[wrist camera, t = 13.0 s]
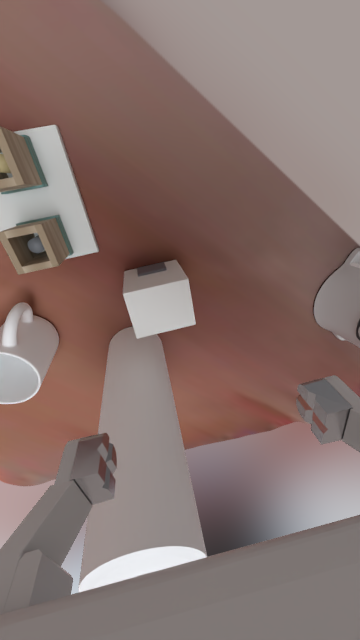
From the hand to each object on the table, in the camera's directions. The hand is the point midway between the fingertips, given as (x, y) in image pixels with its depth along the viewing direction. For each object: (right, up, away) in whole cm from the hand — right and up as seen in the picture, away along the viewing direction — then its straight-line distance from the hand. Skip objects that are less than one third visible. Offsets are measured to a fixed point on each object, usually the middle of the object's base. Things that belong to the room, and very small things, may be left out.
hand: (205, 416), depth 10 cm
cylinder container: (-9, -1, +34) cm, 35 cm away
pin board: (-19, +19, +21) cm, 34 cm away
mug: (-24, +3, +28) cm, 37 cm away
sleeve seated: (-18, +15, +22) cm, 32 cm away
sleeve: (-19, +21, +18) cm, 34 cm away
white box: (-5, +9, +28) cm, 30 cm away
